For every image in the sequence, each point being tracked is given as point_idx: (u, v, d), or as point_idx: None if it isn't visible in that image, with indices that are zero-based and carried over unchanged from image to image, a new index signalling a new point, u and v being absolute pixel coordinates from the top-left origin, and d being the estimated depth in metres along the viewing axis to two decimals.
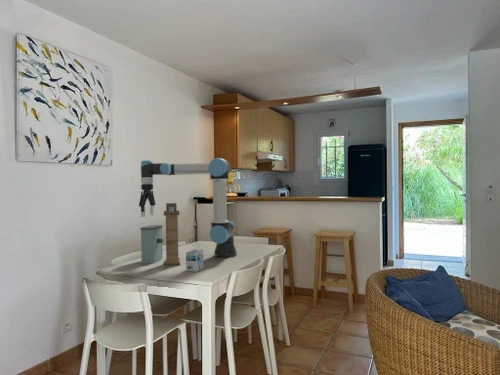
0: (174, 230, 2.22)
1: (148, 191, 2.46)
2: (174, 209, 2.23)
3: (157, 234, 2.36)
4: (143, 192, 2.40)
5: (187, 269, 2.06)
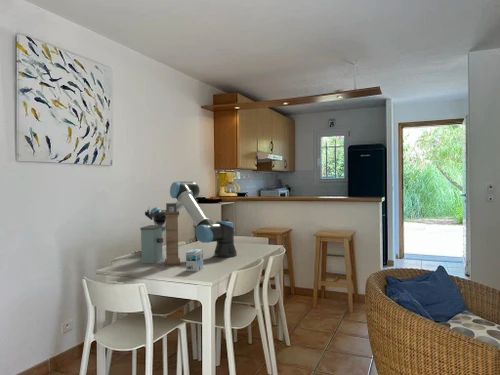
0: (174, 230, 2.22)
1: None
2: (174, 209, 2.23)
3: (157, 234, 2.36)
4: None
5: (187, 269, 2.06)
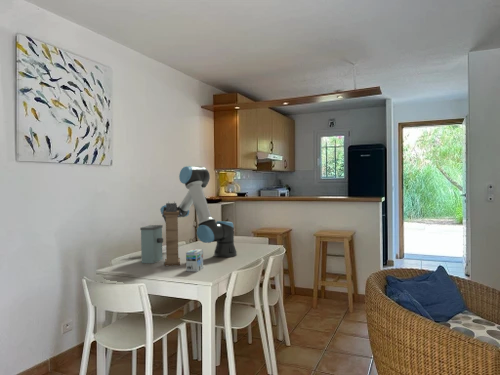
0: (174, 230, 2.22)
1: None
2: (174, 209, 2.23)
3: (157, 234, 2.36)
4: (162, 214, 2.53)
5: (187, 269, 2.06)
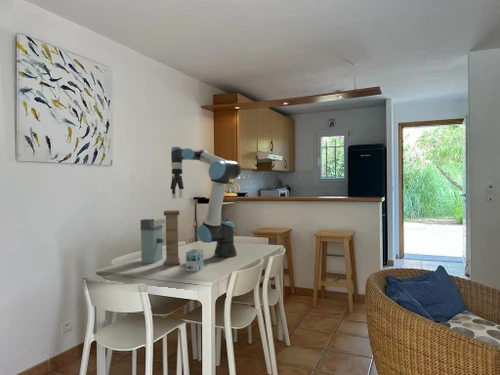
0: (174, 230, 2.22)
1: (178, 175, 2.65)
2: (148, 225, 2.28)
3: (157, 234, 2.36)
4: (174, 176, 2.59)
5: (187, 269, 2.06)
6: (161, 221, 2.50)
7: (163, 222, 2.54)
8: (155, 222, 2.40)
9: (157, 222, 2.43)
